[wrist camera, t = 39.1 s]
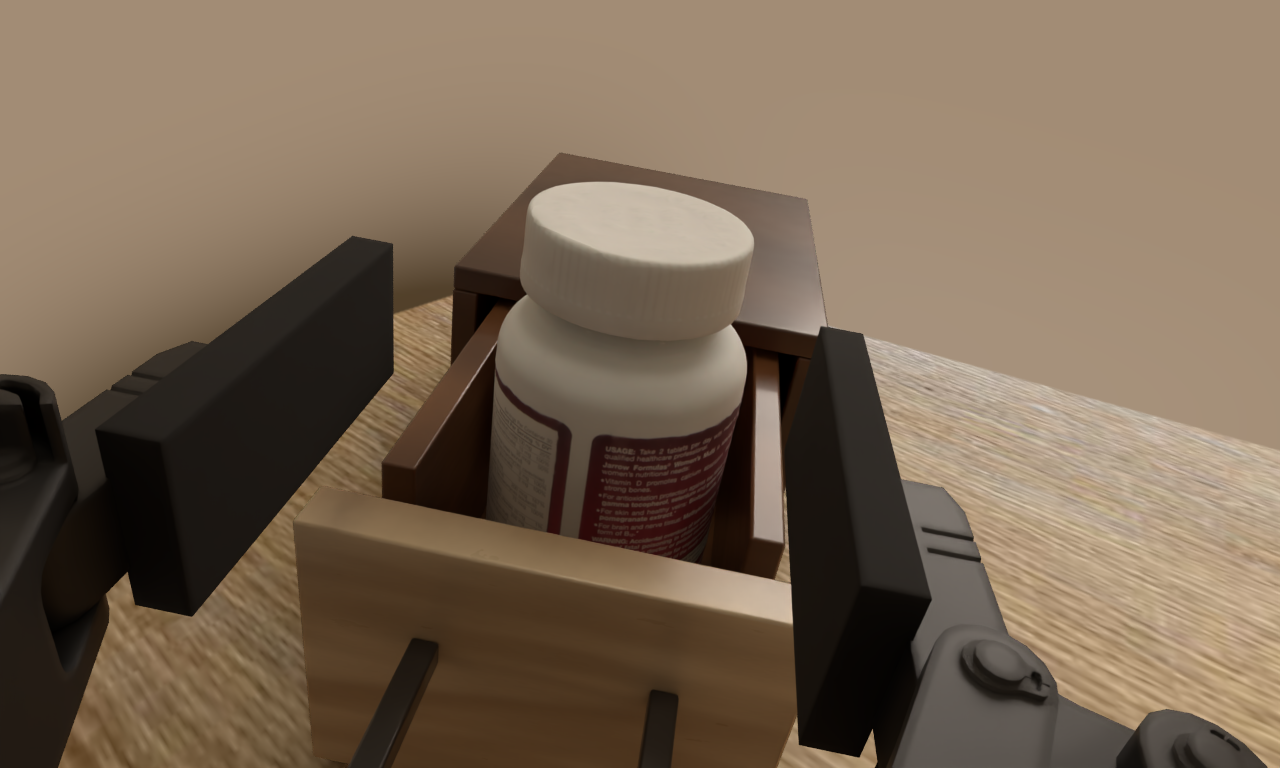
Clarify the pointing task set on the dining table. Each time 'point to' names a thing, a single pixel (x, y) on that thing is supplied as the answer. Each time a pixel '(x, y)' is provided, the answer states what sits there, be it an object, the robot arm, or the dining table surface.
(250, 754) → the dining table surface
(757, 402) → the drawer
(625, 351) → the pill bottle
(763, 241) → the cabinet
